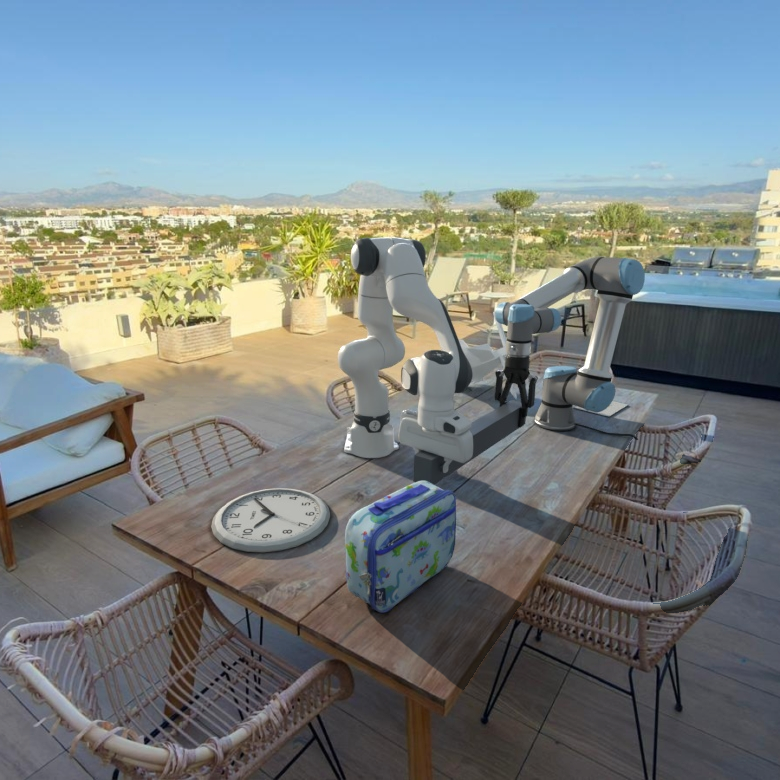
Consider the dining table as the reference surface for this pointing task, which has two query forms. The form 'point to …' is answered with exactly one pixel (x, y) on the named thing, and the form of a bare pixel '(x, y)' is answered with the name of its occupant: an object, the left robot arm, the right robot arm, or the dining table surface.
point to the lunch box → (399, 543)
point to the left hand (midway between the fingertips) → (433, 467)
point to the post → (484, 437)
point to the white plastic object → (487, 358)
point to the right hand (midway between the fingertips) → (512, 424)
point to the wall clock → (270, 520)
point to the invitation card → (608, 409)
